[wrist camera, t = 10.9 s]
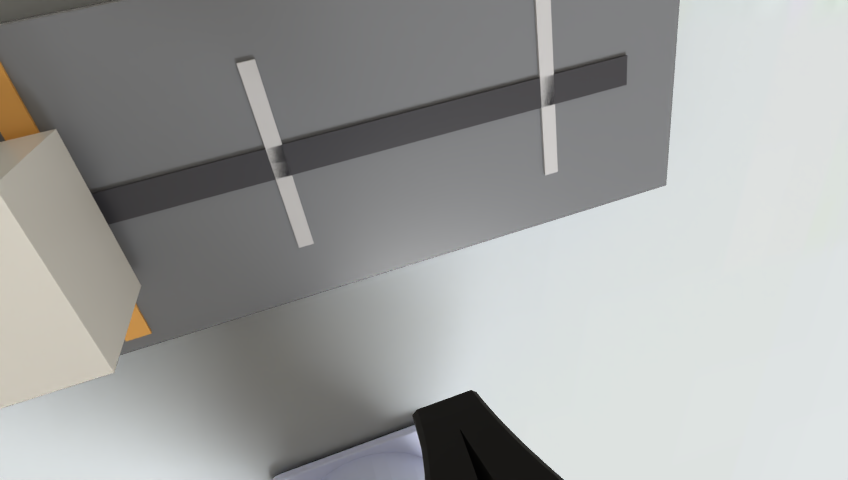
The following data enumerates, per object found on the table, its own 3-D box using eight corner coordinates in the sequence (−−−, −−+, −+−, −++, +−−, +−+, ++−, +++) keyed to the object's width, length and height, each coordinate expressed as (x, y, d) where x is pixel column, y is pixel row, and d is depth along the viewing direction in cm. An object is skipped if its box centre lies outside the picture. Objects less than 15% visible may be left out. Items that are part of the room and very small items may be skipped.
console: (634, 168, 23) (667, 185, 21) (-89, 386, 18) (-126, 433, 16) (645, -107, 18) (690, -114, 16) (-359, 95, 13) (-456, 117, 11)
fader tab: (141, 285, 16) (114, 372, 13) (35, 316, 16) (-22, 415, 12) (56, 129, 14) (-7, 185, 10) (-74, 159, 13) (-185, 229, 10)
